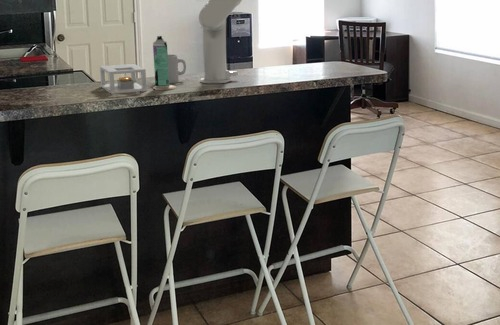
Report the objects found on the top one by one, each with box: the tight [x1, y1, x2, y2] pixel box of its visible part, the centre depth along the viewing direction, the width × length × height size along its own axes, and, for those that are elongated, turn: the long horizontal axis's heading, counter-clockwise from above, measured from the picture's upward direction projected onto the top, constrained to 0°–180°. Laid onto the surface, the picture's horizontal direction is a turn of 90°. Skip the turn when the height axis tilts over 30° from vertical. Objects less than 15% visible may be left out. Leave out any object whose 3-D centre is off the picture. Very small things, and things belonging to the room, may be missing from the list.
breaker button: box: [118, 76, 132, 81], centre depth 273 cm, size 5×5×4 cm
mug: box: [168, 54, 187, 84], centre depth 292 cm, size 12×8×11 cm
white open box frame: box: [99, 63, 148, 95], centre depth 276 cm, size 14×18×8 cm
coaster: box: [152, 84, 177, 91], centre depth 277 cm, size 9×9×1 cm
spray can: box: [152, 35, 170, 88], centre depth 274 cm, size 6×6×20 cm
